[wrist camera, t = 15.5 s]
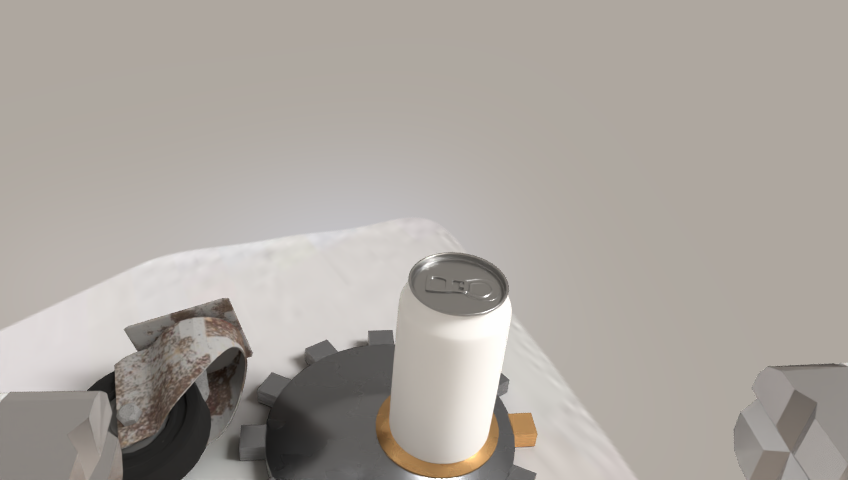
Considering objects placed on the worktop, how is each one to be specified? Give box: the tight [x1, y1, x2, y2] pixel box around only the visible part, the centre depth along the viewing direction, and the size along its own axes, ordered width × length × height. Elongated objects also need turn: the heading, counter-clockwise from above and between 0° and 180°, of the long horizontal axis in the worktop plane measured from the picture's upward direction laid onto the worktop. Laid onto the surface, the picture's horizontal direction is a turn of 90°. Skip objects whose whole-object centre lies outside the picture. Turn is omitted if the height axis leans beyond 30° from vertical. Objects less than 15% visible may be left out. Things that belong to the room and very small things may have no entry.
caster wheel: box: [87, 298, 253, 480], centre depth 47 cm, size 7×11×10 cm
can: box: [389, 252, 512, 464], centre depth 45 cm, size 6×6×12 cm
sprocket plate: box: [239, 330, 537, 480], centre depth 49 cm, size 19×19×1 cm
